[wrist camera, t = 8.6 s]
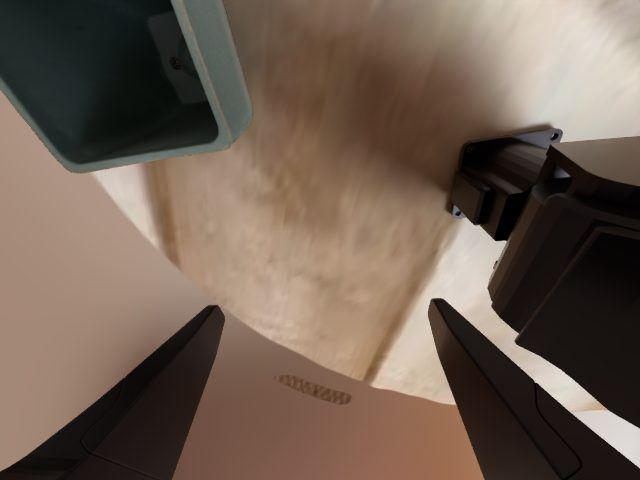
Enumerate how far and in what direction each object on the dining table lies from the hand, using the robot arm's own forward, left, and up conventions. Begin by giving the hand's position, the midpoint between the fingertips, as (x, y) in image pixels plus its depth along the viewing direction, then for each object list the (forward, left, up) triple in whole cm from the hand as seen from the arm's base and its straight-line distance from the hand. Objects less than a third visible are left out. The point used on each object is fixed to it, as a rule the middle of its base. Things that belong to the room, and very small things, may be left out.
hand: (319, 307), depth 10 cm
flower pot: (+7, -11, -13) cm, 18 cm away
